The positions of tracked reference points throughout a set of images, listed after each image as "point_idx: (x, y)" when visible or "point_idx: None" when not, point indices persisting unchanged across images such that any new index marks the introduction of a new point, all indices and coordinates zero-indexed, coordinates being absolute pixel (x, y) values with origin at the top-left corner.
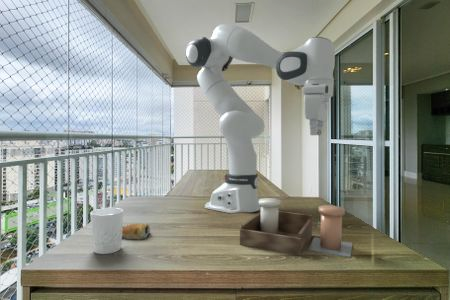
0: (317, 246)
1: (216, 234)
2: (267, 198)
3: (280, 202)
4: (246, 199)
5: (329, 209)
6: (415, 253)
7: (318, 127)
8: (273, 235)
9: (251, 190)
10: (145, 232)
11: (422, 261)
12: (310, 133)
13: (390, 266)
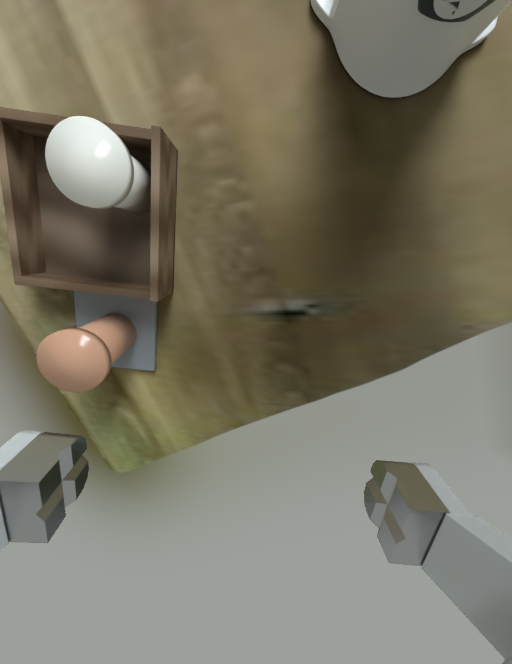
0: (100, 307)
1: (78, 21)
2: (116, 147)
3: (94, 207)
4: (365, 12)
5: (49, 358)
6: (166, 455)
7: (478, 573)
8: (7, 215)
9: (405, 4)
10: None
11: (134, 457)
12: (11, 440)
13: (88, 414)
